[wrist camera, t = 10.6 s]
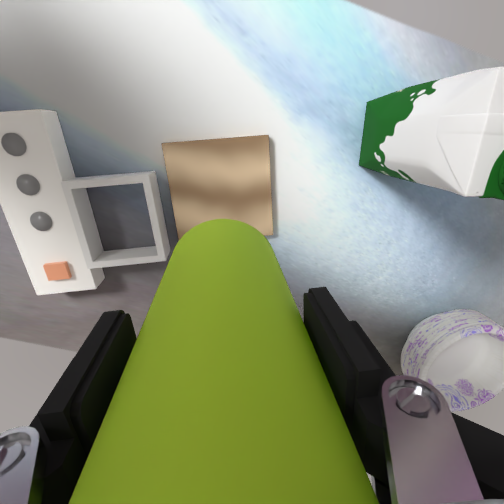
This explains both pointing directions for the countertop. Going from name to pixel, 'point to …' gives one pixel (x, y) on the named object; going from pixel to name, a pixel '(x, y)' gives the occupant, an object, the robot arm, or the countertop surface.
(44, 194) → the white holder tray
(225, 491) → the soap dispenser
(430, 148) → the milk carton
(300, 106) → the countertop surface
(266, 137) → the oak board
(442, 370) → the paper bowls
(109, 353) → the robot arm
